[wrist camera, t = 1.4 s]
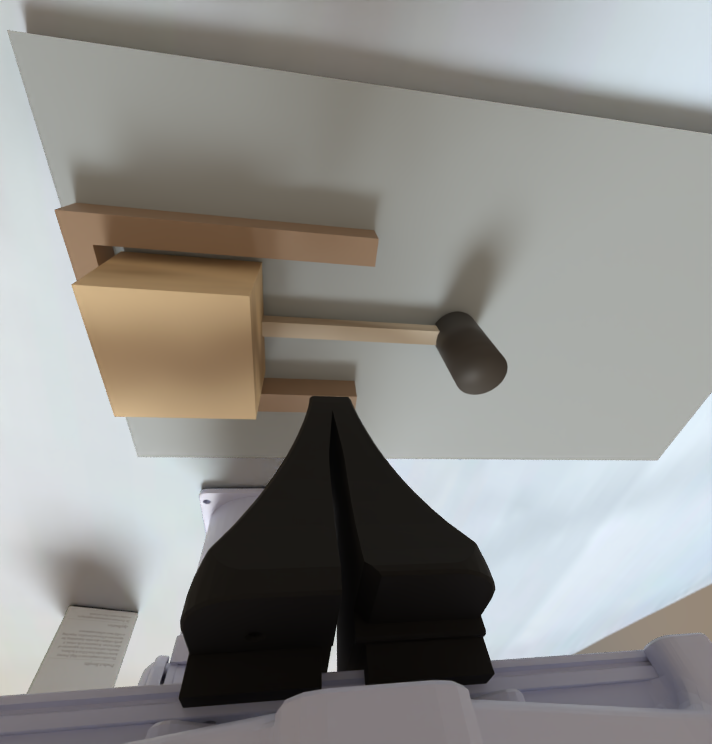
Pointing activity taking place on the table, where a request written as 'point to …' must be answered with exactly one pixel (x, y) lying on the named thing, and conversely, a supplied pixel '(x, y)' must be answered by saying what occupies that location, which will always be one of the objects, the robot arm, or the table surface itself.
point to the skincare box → (85, 651)
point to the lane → (399, 246)
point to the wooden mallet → (227, 336)
